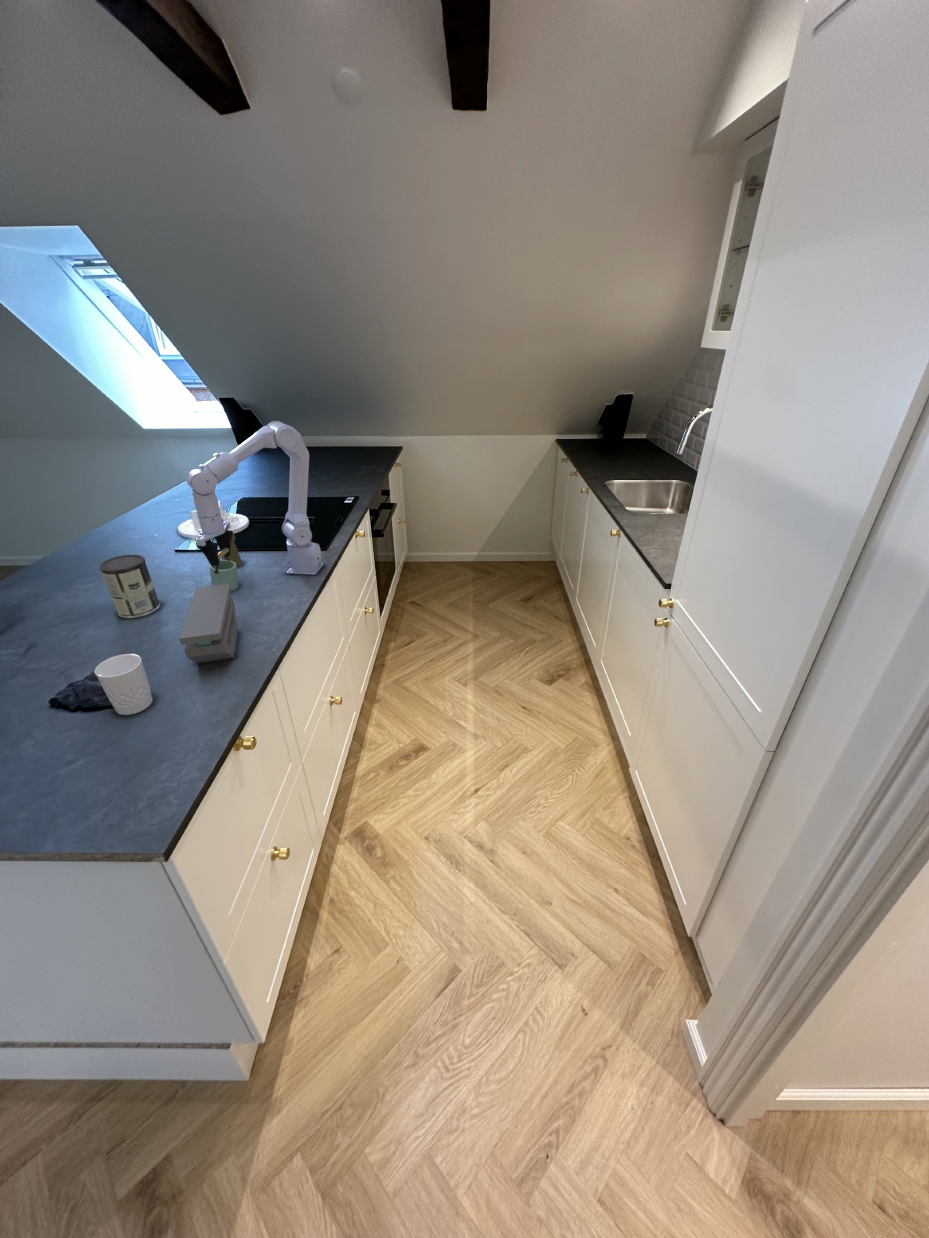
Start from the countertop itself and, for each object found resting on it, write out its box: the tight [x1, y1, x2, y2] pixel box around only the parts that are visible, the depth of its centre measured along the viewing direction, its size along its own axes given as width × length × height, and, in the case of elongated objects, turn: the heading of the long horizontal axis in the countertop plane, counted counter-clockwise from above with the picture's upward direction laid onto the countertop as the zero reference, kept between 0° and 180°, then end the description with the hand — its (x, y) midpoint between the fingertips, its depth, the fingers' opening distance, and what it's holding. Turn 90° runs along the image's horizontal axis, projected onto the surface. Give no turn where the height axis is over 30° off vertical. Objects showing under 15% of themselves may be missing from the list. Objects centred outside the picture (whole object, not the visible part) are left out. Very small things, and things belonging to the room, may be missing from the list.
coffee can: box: [98, 554, 161, 619], centre depth 136 cm, size 10×10×14 cm
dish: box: [177, 499, 250, 540], centre depth 193 cm, size 25×25×11 cm
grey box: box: [178, 583, 238, 664], centre depth 121 cm, size 25×8×11 cm, turn 17°
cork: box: [221, 533, 244, 568], centre depth 163 cm, size 6×6×11 cm
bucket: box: [208, 548, 240, 592], centre depth 148 cm, size 7×8×11 cm
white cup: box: [94, 653, 154, 716], centre depth 102 cm, size 8×8×10 cm
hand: (220, 560), depth 147 cm, fingers closed on bucket, 6 cm apart
